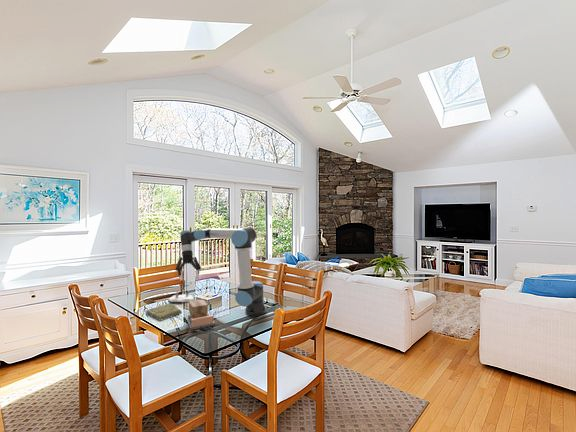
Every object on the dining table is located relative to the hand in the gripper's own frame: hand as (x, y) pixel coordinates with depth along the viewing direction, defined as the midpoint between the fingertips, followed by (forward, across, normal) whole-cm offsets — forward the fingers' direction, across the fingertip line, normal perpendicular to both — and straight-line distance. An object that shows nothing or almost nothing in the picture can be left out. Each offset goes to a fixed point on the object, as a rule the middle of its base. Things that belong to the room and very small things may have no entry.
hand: (189, 279), depth 227 cm
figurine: (+12, -16, -38) cm, 43 cm away
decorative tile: (+21, +7, -25) cm, 33 cm away
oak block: (+27, -1, +4) cm, 28 cm away
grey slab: (+30, -1, +6) cm, 31 cm away
